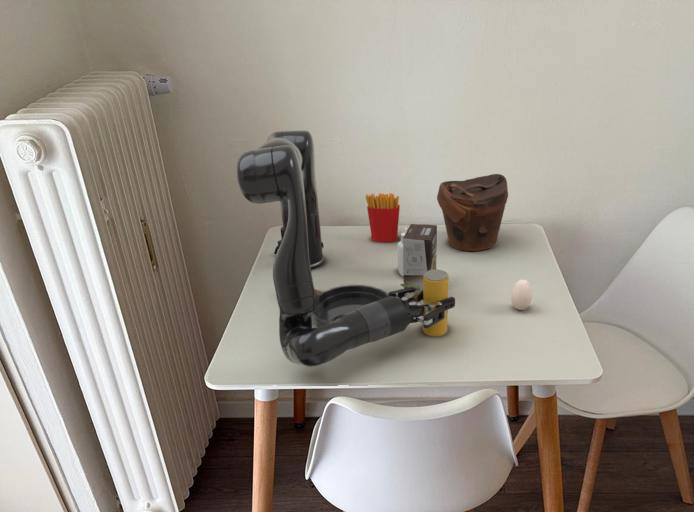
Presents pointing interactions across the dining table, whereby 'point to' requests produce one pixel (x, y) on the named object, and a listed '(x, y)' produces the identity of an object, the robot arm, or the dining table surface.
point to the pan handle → (317, 293)
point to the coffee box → (419, 254)
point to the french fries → (383, 217)
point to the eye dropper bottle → (401, 253)
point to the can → (435, 297)
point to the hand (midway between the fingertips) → (445, 295)
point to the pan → (344, 301)
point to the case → (473, 210)
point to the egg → (521, 294)
